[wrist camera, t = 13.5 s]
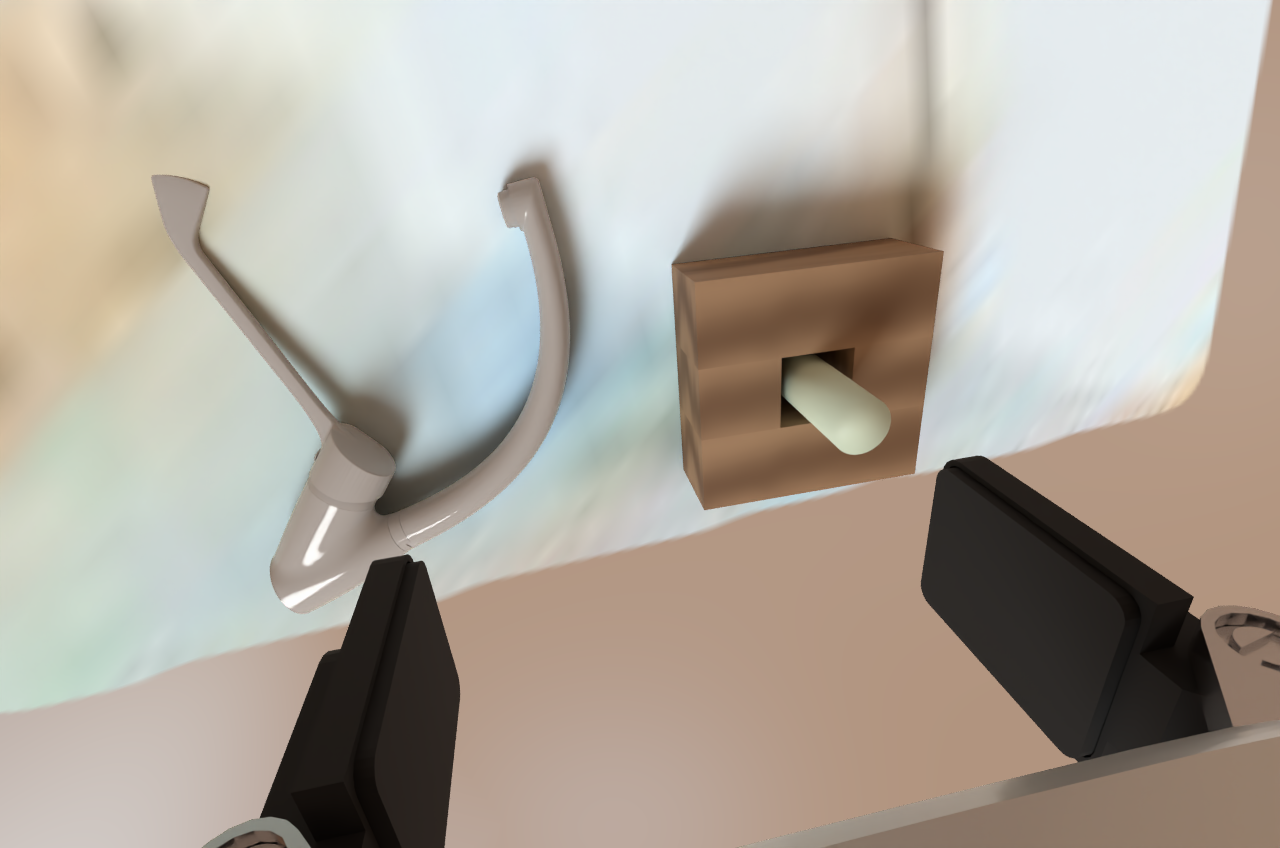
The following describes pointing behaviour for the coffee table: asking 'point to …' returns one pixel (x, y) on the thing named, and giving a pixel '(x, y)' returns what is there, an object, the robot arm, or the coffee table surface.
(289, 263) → the coffee table surface
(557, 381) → the faucet
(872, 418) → the peg
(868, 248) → the socket block
